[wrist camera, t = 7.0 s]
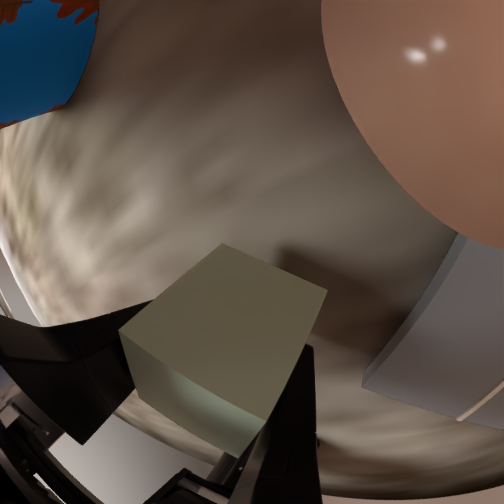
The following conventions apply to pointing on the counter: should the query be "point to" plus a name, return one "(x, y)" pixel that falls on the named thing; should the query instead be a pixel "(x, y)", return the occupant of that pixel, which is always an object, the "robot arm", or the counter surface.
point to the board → (451, 341)
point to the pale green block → (221, 345)
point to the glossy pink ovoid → (428, 100)
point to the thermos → (42, 54)
